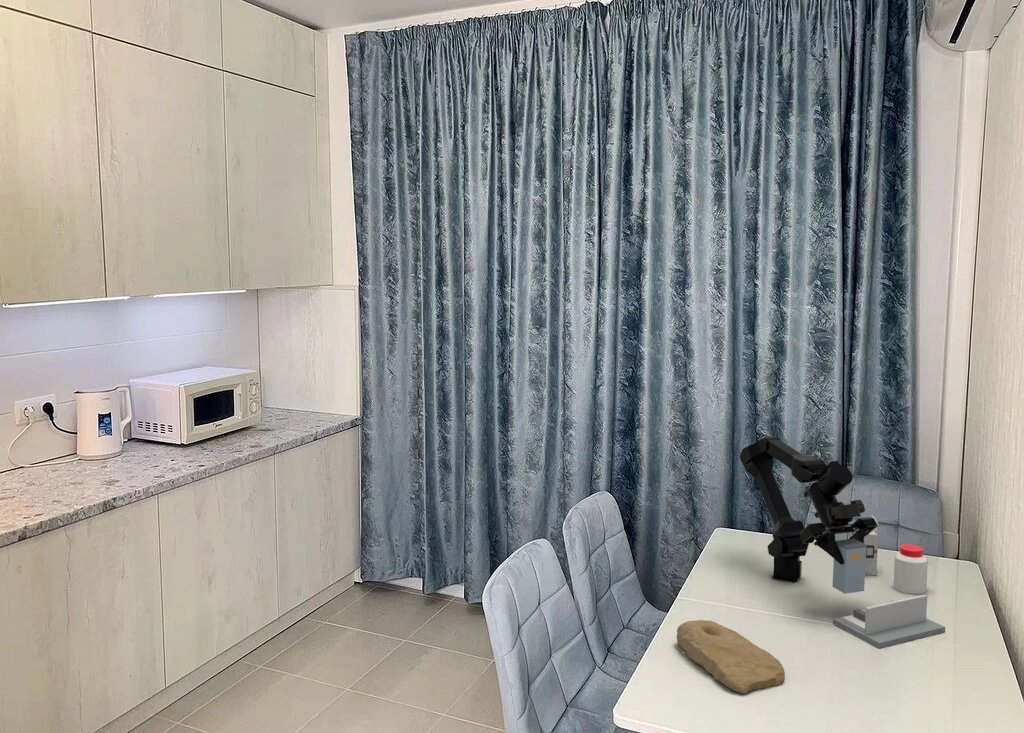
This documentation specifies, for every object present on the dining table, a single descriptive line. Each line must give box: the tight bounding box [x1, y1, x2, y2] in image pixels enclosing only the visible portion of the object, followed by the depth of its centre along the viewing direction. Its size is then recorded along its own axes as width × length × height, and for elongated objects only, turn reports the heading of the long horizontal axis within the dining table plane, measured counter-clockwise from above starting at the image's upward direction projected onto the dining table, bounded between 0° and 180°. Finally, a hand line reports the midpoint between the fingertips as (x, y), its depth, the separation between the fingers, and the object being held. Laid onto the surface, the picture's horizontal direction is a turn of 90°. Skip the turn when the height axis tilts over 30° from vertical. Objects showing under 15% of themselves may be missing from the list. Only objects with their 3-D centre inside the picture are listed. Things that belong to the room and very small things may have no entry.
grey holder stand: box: [832, 594, 946, 649], centre depth 197 cm, size 14×20×7 cm
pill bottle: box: [893, 543, 929, 595], centre depth 220 cm, size 8×8×11 cm
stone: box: [676, 619, 786, 694], centre depth 182 cm, size 15×26×6 cm, turn 21°
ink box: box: [864, 514, 879, 576], centre depth 233 cm, size 9×5×15 cm, turn 168°
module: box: [832, 538, 867, 595], centre depth 204 cm, size 5×6×12 cm
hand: (853, 562), depth 202 cm, fingers closed on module, 5 cm apart
